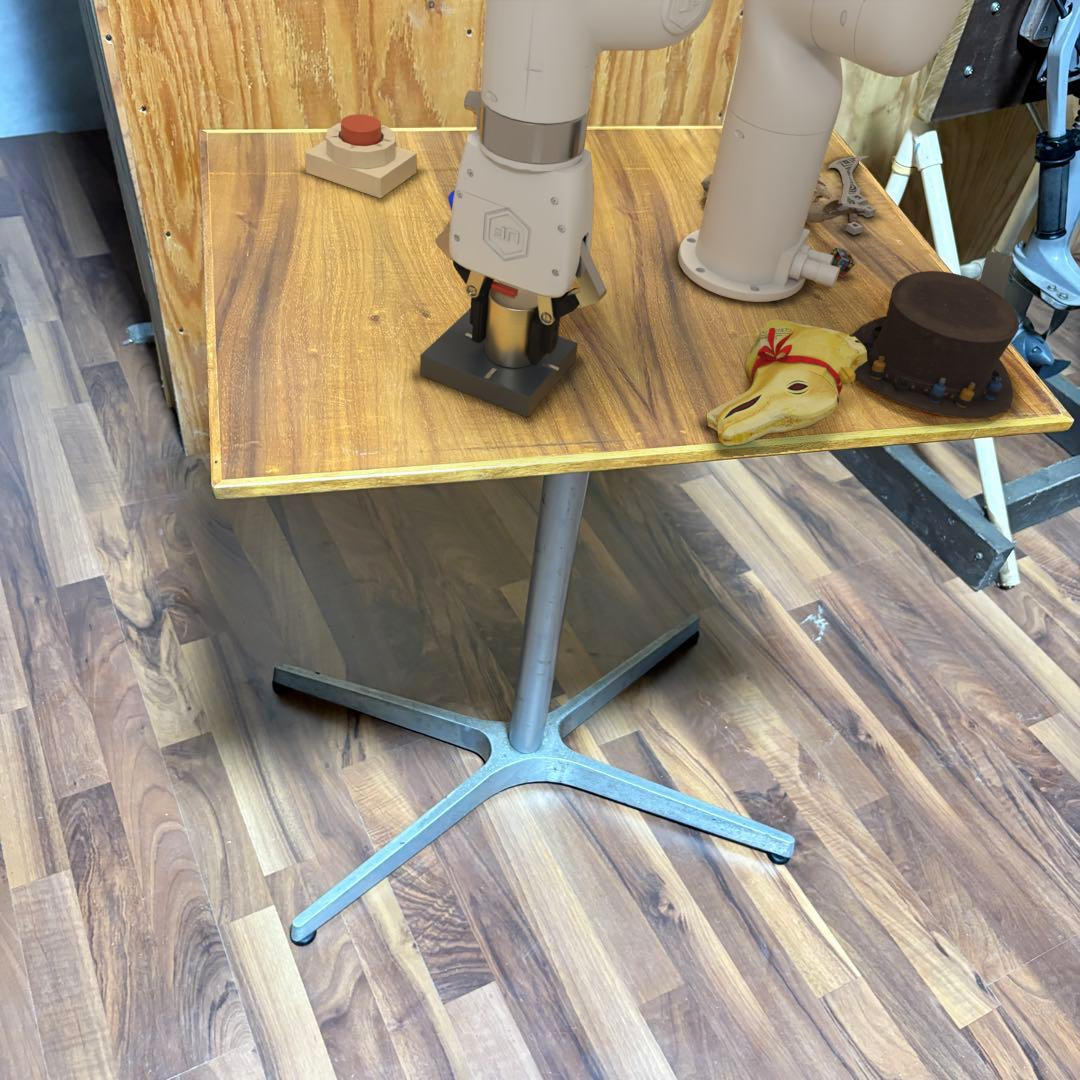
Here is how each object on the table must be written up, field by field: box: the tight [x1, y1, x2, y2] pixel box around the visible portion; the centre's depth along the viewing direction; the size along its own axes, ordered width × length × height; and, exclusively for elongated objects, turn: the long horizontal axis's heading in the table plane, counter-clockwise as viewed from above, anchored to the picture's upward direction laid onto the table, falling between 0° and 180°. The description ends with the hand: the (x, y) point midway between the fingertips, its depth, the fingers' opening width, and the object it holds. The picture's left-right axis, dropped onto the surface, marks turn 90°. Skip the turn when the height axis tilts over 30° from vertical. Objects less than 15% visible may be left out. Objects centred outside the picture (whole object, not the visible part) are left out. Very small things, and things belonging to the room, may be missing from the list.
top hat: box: [851, 250, 1020, 419], centre depth 91 cm, size 15×15×10 cm
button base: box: [304, 122, 418, 199], centre depth 110 cm, size 9×7×4 cm
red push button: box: [340, 113, 382, 146], centre depth 108 cm, size 4×4×2 cm
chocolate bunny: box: [706, 318, 867, 447], centre depth 86 cm, size 7×11×15 cm
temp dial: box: [485, 280, 539, 368], centre depth 86 cm, size 4×4×6 cm
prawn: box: [805, 175, 866, 278], centre depth 111 cm, size 25×12×7 cm, turn 12°
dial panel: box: [419, 307, 578, 418], centre depth 89 cm, size 10×9×2 cm
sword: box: [828, 155, 877, 236], centre depth 119 cm, size 20×1×5 cm
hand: (512, 343), depth 87 cm, fingers closed on temp dial, 4 cm apart
